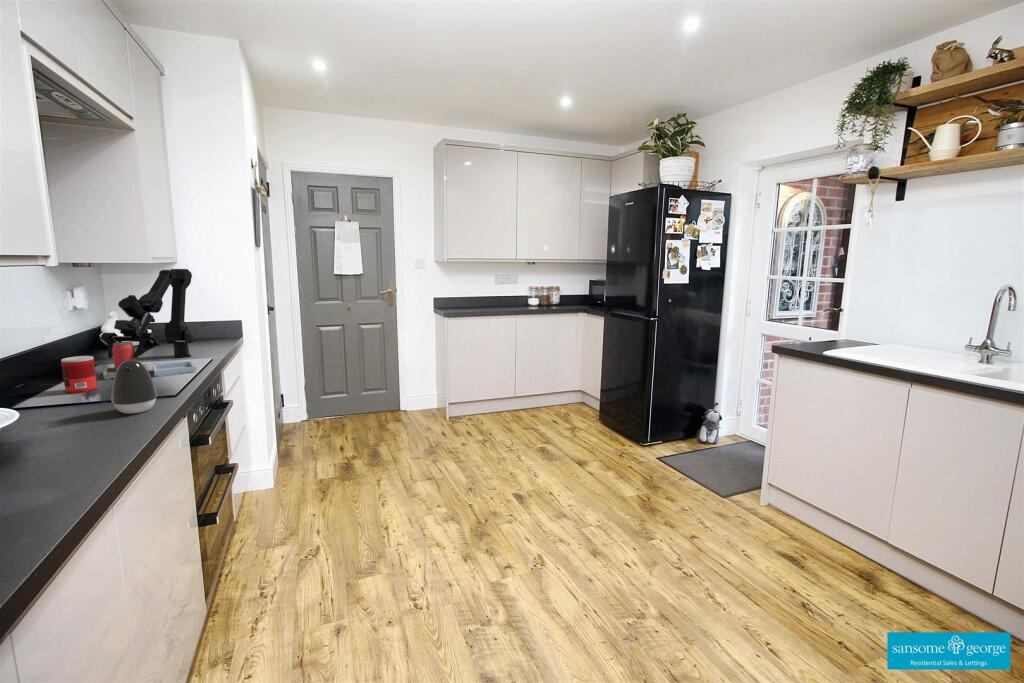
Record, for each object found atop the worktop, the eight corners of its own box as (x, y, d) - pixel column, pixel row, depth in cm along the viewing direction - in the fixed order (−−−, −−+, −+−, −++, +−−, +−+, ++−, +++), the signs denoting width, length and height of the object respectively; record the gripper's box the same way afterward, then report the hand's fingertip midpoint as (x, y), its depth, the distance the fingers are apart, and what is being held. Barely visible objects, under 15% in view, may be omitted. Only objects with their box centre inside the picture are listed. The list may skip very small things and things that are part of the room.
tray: (152, 370, 186) (152, 365, 186) (192, 366, 195) (191, 361, 194) (155, 377, 177) (154, 371, 176) (196, 372, 185) (196, 366, 184)
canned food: (103, 387, 161) (99, 356, 159) (80, 394, 153) (75, 360, 151) (83, 387, 162) (78, 355, 160) (58, 393, 154) (54, 360, 152)
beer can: (113, 377, 176) (109, 345, 174) (118, 373, 182) (114, 342, 180) (135, 375, 179) (131, 343, 177) (139, 371, 185) (135, 341, 183)
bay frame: (104, 373, 181) (103, 368, 181) (147, 368, 189) (146, 364, 189) (104, 380, 171) (103, 374, 171) (149, 375, 179) (148, 369, 179)
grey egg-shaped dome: (107, 418, 130) (100, 364, 128) (120, 408, 140) (114, 357, 137) (152, 414, 134) (146, 362, 132) (162, 404, 144) (157, 355, 141)
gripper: (100, 311, 180) (80, 345, 171) (152, 311, 181) (135, 345, 172) (118, 329, 189) (100, 362, 180) (168, 329, 190) (152, 362, 181)
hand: (121, 357), depth 178 cm, fingers open, 9 cm apart
